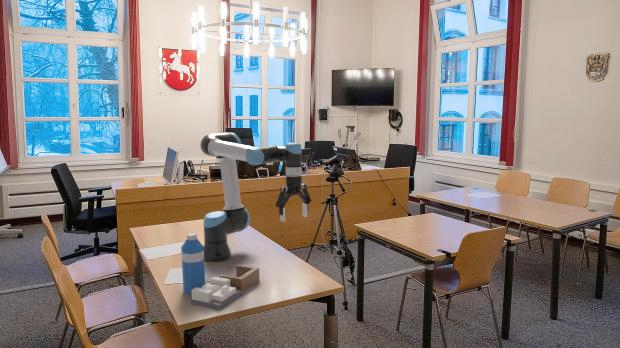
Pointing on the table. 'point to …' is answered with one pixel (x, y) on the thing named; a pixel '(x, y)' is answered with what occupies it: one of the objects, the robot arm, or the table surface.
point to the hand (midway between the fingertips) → (294, 219)
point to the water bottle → (192, 263)
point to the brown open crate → (243, 277)
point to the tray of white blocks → (215, 294)
